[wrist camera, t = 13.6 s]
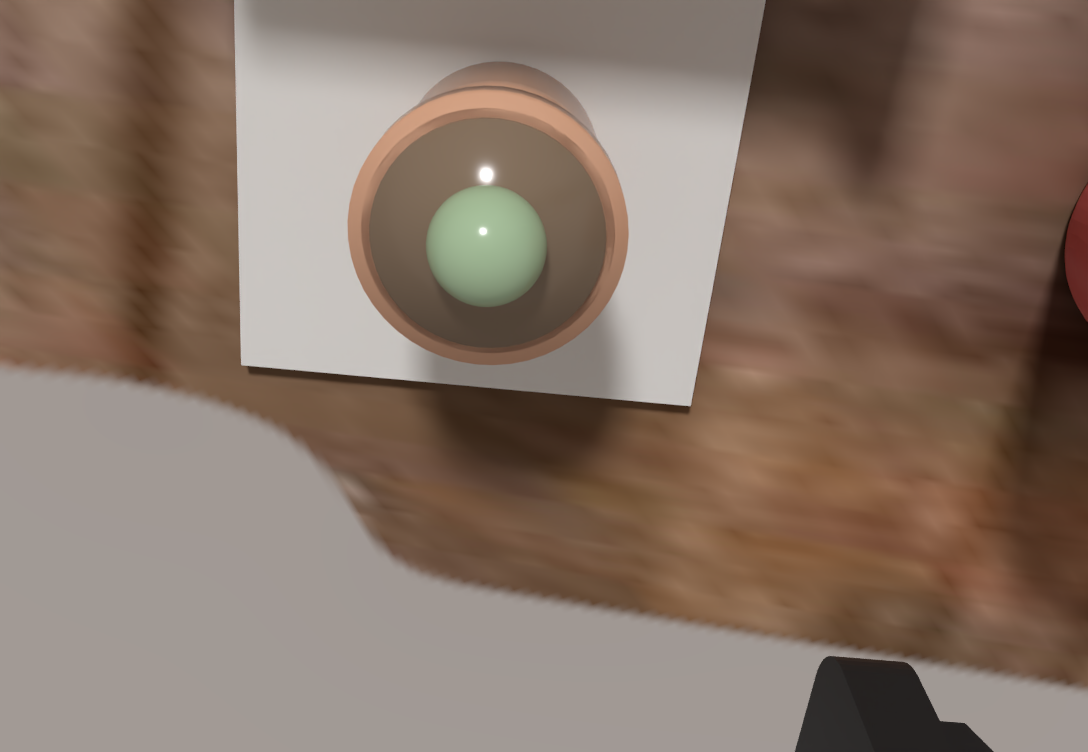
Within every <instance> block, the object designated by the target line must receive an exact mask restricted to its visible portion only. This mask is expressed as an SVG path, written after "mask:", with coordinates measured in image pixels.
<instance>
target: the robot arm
mask: <svg viewBox="0 0 1088 752" xmlns="http://www.w3.org/2000/svg"><path fill="white" fill-rule="evenodd" d="M795 752H993V751H992V750H991V749H990V748H989V747H988V746H987V745H986V744H985V743H984V742H983V741H982V740H981V739H980V738H979V737H978V736H977V735H976V734H975V733H974V732H973V731H972V730H971V729H970V728H969V727H968V726H967V725H966V724H965V723H956V722H943V721H940V720H939V718H938V717H937V714H936V712H935V710H934V708H933V706H932V704H931V702H930V700H929V698H928V696H927V694H926V692H925V690H924V688H923V686H922V684H921V682H920V679H919V677H918V675H917V674H916V672H915V671H914V669H913V668H912V667H911V666H910V665H909V664H908V663H905V662H897V661H884V660H872V659H860V658H847V657H835V656H828V657H826V658H825V659H824V660H823V661H822V662H821V664H820V666H819V668H818V671H817V674H816V677H815V681H814V685H813V688H812V692H811V696H810V700H809V703H808V707H807V710H806V713H805V717H804V721H803V724H802V728H801V732H800V735H799V739H798V742H797V746H796V750H795Z"/></svg>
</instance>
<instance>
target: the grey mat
mask: <svg viewBox="0 0 1088 752" xmlns="http://www.w3.org/2000/svg"><path fill="white" fill-rule="evenodd" d="M765 2H766V0H234V17H235V69H236V121H237V174H238V226H239V278H240V331H241V365H246V366H256V367H267V368H278V369H289V370H300V371H311V372H322V373H333V374H344V375H355V376H366V377H377V378H388V379H399V380H409V381H420V382H431V383H442V384H453V385H464V386H475V387H486V388H497V389H508V390H519V391H530V392H541V393H551V394H562V395H573V396H584V397H595V398H606V399H617V400H628V401H639V402H650V403H661V404H672V405H683V406H691V402H692V396H693V391H694V386H695V380H696V375H697V369H698V364H699V359H700V353H701V348H702V342H703V337H704V332H705V326H706V321H707V315H708V310H709V305H710V299H711V294H712V288H713V283H714V278H715V272H716V267H717V261H718V256H719V251H720V245H721V240H722V234H723V229H724V224H725V218H726V213H727V207H728V202H729V197H730V191H731V186H732V180H733V175H734V170H735V164H736V159H737V153H738V148H739V143H740V137H741V132H742V126H743V121H744V116H745V110H746V105H747V99H748V94H749V89H750V83H751V78H752V72H753V67H754V62H755V56H756V51H757V45H758V40H759V35H760V29H761V24H762V18H763V13H764V8H765ZM496 61H499V62H513V63H518V64H524V65H527V66H530V67H533V68H536V69H538V70H540V71H542V72H544V73H546V74H548V75H550V76H551V77H553V78H554V79H556V80H557V81H559V82H560V83H562V84H563V85H564V86H565V87H566V88H567V89H568V90H570V91H571V93H572V94H573V95H574V96H575V97H576V98H577V99H578V101H579V102H580V103H581V105H582V106H583V108H584V109H585V111H586V112H587V115H588V117H589V119H590V121H591V123H592V125H593V128H594V131H595V134H596V137H597V139H598V141H599V142H600V144H601V145H602V146H603V148H604V149H605V151H606V152H607V154H608V156H609V158H610V160H611V162H612V164H613V166H614V168H615V170H616V173H617V176H618V179H619V182H620V185H621V188H622V192H623V195H624V199H625V204H626V210H627V215H628V229H629V238H628V249H627V256H626V260H625V265H624V269H623V272H622V274H621V277H620V280H619V283H618V285H617V287H616V289H615V291H614V293H613V295H612V297H611V299H610V300H609V302H608V303H607V305H606V306H605V308H604V309H603V310H602V312H601V313H600V315H599V316H598V317H597V318H596V319H595V320H594V321H593V322H592V323H591V324H590V325H589V327H588V328H586V329H585V330H584V331H583V332H582V333H580V334H579V335H578V336H577V337H576V338H574V339H573V340H571V341H570V342H568V343H566V344H565V345H563V346H562V347H560V348H558V349H556V350H554V351H552V352H550V353H548V354H546V355H543V356H540V357H537V358H534V359H531V360H528V361H523V362H518V363H513V364H503V365H478V364H471V363H465V362H459V361H455V360H452V359H448V358H445V357H442V356H439V355H437V354H435V353H432V352H430V351H428V350H425V349H424V348H422V347H420V346H418V345H417V344H415V343H413V342H411V341H410V340H409V339H407V338H406V337H405V336H403V335H402V334H401V333H399V332H398V331H397V330H396V329H395V328H393V327H392V326H391V325H390V324H389V323H388V322H387V321H386V320H385V319H384V318H383V317H382V315H381V314H380V313H379V312H378V310H377V309H376V308H375V307H374V306H373V304H372V303H371V301H370V299H369V298H368V296H367V294H366V293H365V291H364V290H363V287H362V285H361V283H360V281H359V279H358V277H357V274H356V271H355V268H354V265H353V262H352V258H351V254H350V248H349V242H348V223H347V221H348V211H349V203H350V199H351V195H352V191H353V187H354V184H355V181H356V179H357V176H358V174H359V171H360V169H361V167H362V166H363V164H364V162H365V160H366V159H367V157H368V155H369V153H370V152H371V151H372V149H373V148H374V146H375V145H376V143H377V142H378V141H379V140H380V138H381V137H382V136H383V134H384V133H385V132H386V131H387V129H388V128H389V127H390V126H391V125H392V124H393V123H394V122H396V121H397V120H398V119H399V118H400V117H401V116H402V115H404V114H405V113H406V112H408V111H409V110H410V109H412V108H413V107H414V106H416V105H418V103H419V102H420V101H421V99H422V98H423V97H424V95H425V94H426V93H427V92H428V91H429V90H430V89H431V88H432V87H433V86H434V85H435V84H437V83H438V82H439V81H441V80H442V79H443V78H445V77H446V76H448V75H450V74H452V73H454V72H455V71H457V70H460V69H462V68H465V67H468V66H470V65H475V64H479V63H484V62H496Z"/></svg>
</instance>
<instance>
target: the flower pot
mask: <svg viewBox="0 0 1088 752" xmlns="http://www.w3.org/2000/svg"><path fill="white" fill-rule="evenodd" d="M1065 269H1066V277H1067V281H1068V285H1069V288H1070V291H1071V293H1072V296H1073V298H1074V300H1075V302H1076V304H1077V306H1078V308H1079V310H1080V312H1081V313H1082V315H1083V316H1084V318H1085V319H1086V321H1087V322H1088V184H1087V185H1086V187H1085V189H1084V190H1083V192H1082V194H1081V196H1080V198H1079V200H1078V202H1077V204H1076V206H1075V209H1074V211H1073V214H1072V216H1071V219H1070V222H1069V226H1068V230H1067V237H1066V244H1065Z"/></svg>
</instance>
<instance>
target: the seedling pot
mask: <svg viewBox="0 0 1088 752" xmlns="http://www.w3.org/2000/svg"><path fill="white" fill-rule="evenodd" d="M347 223H348V242H349V248H350V254H351V258H352V262H353V265H354V268H355V271H356V274H357V277H358V279H359V281H360V283H361V285H362V287H363V290H364V291H365V293H366V294H367V296H368V298H369V299H370V301H371V303H372V304H373V306H374V307H375V308H376V309H377V310H378V312H379V313H380V314H381V315H382V317H383V318H384V319H385V320H386V321H387V322H388V323H389V324H390V325H391V326H392V327H393V328H395V329H396V330H397V331H398V332H399V333H401V334H402V335H403V336H405V337H406V338H407V339H409V340H410V341H411V342H413V343H415V344H417V345H418V346H420V347H422V348H424V349H425V350H428V351H430V352H432V353H435V354H437V355H439V356H442V357H445V358H448V359H452V360H455V361H459V362H465V363H471V364H478V365H503V364H513V363H518V362H523V361H528V360H531V359H534V358H537V357H540V356H543V355H546V354H548V353H550V352H552V351H554V350H556V349H558V348H560V347H562V346H563V345H565V344H566V343H568V342H570V341H571V340H573V339H574V338H576V337H577V336H578V335H579V334H580V333H582V332H583V331H584V330H585V329H586V328H588V327H589V325H590V324H591V323H592V322H593V321H594V320H595V319H596V318H597V317H598V316H599V315H600V313H601V312H602V310H603V309H604V308H605V306H606V305H607V303H608V302H609V300H610V299H611V297H612V295H613V293H614V291H615V289H616V287H617V285H618V283H619V280H620V277H621V274H622V272H623V269H624V265H625V260H626V256H627V249H628V238H629V229H628V215H627V210H626V204H625V199H624V195H623V192H622V188H621V185H620V182H619V179H618V176H617V173H616V170H615V168H614V166H613V164H612V162H611V160H610V158H609V156H608V154H607V152H606V151H605V149H604V148H603V146H602V145H601V144H600V142H599V141H598V139H597V137H596V134H595V131H594V128H593V125H592V123H591V121H590V119H589V117H588V115H587V112H586V111H585V109H584V108H583V106H582V105H581V103H580V102H579V101H578V99H577V98H576V97H575V96H574V95H573V94H572V93H571V91H570V90H568V89H567V88H566V87H565V86H564V85H563V84H562V83H560V82H559V81H557V80H556V79H554V78H553V77H551V76H550V75H548V74H546V73H544V72H542V71H540V70H538V69H536V68H533V67H530V66H527V65H524V64H518V63H513V62H499V61H496V62H484V63H479V64H475V65H470V66H468V67H465V68H462V69H460V70H457V71H455V72H454V73H452V74H450V75H448V76H446V77H445V78H443V79H442V80H441V81H439V82H438V83H437V84H435V85H434V86H433V87H432V88H431V89H430V90H429V91H428V92H427V93H426V94H425V95H424V97H423V98H422V99H421V101H420V102H419V103H418V105H416V106H414V107H413V108H412V109H410V110H409V111H408V112H406V113H405V114H404V115H402V116H401V117H400V118H399V119H398V120H397V121H396V122H394V123H393V124H392V125H391V126H390V127H389V128H388V129H387V131H386V132H385V133H384V134H383V136H382V137H381V138H380V140H379V141H378V142H377V143H376V145H375V146H374V148H373V149H372V151H371V152H370V153H369V155H368V157H367V159H366V160H365V162H364V164H363V166H362V167H361V169H360V171H359V174H358V176H357V179H356V181H355V184H354V187H353V191H352V195H351V199H350V203H349V211H348V221H347Z"/></svg>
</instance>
